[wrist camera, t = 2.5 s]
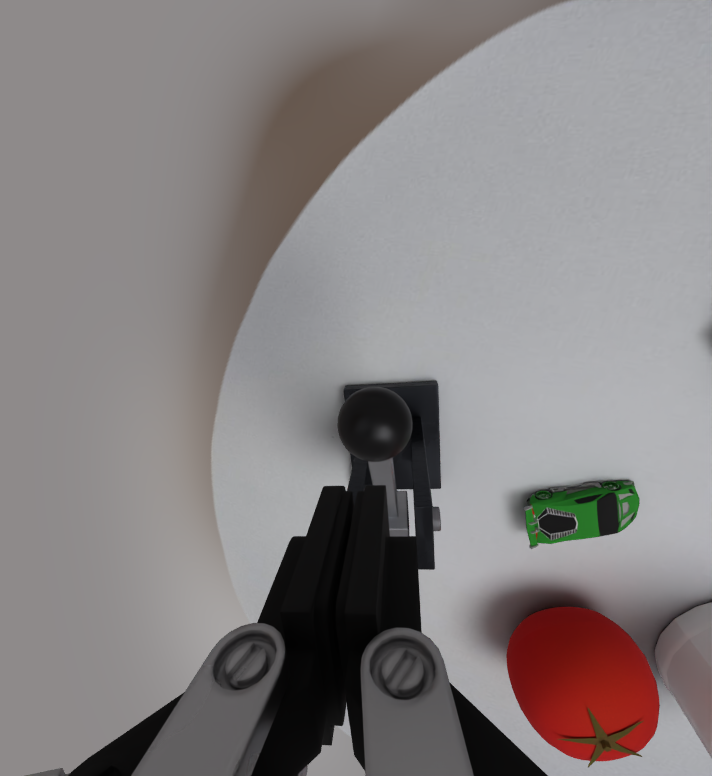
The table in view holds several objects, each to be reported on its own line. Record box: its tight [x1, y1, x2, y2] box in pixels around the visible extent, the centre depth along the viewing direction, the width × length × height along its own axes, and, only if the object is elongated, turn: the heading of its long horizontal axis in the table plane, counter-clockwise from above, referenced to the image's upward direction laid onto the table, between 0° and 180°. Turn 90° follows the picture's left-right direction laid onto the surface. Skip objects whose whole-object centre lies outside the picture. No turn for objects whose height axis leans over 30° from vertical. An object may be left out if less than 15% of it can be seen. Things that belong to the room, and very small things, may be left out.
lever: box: [337, 387, 412, 536], centre depth 20 cm, size 13×3×3 cm
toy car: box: [524, 481, 639, 549], centre depth 34 cm, size 10×5×2 cm, turn 105°
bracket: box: [344, 381, 441, 570], centre depth 29 cm, size 10×8×14 cm
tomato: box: [507, 607, 660, 767], centre depth 35 cm, size 12×12×10 cm
